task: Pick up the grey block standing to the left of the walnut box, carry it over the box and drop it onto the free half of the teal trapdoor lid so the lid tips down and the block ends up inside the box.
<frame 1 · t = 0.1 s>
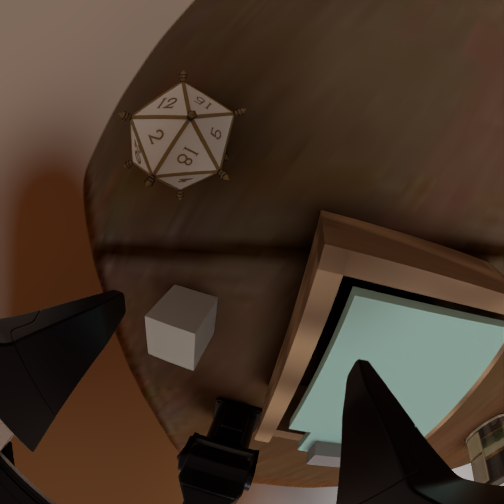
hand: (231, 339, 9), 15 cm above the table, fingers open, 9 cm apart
grey block: (194, 309, 28), on the table
game die: (202, 137, 21), on the table
box frame: (358, 371, 26), on the table
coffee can: (486, 428, 27), on the table
trapdoor: (390, 411, 16), point 9 cm above the table, hinge at 0.0°
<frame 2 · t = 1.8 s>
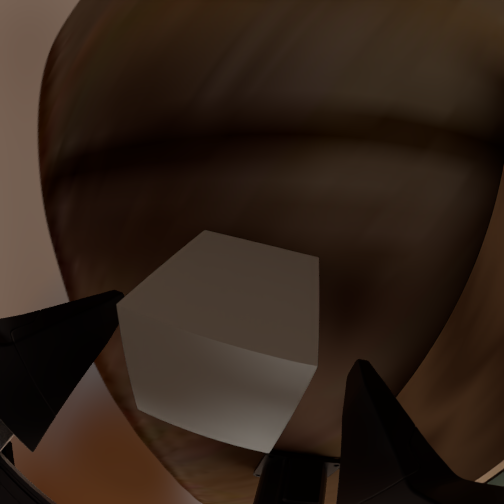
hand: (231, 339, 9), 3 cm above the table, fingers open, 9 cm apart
grey block: (250, 292, 12), on the table
box frame: (503, 380, 11), on the table
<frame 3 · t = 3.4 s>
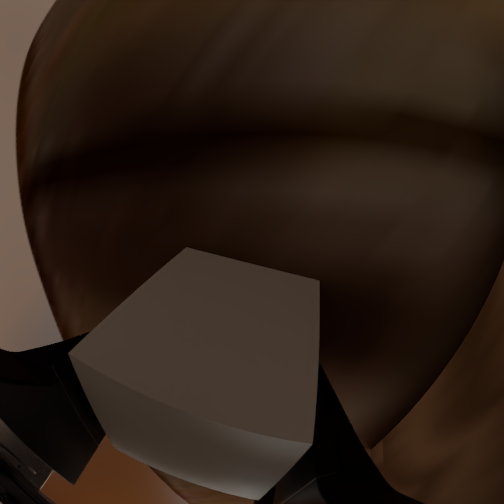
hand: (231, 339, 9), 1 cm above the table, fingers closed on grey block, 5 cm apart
grey block: (240, 318, 10), on the table, touching gripper
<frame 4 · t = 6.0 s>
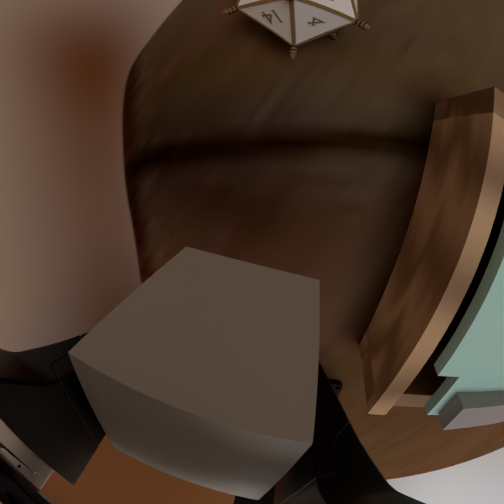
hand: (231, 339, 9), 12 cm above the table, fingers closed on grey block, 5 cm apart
grey block: (240, 318, 10), point 11 cm above the table, touching gripper
game die: (303, 19, 14), on the table
box frame: (461, 313, 19), on the table
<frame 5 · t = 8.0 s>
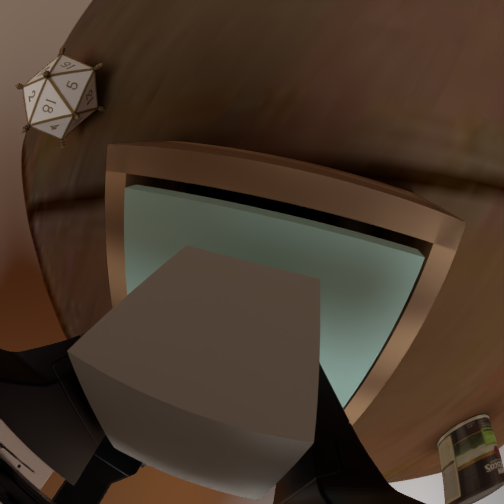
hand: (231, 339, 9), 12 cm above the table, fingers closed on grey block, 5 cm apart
grey block: (240, 317, 10), point 11 cm above the table, touching gripper
game die: (90, 98, 19), on the table
box frame: (254, 336, 25), on the table
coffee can: (463, 431, 25), on the table
trapdoor: (235, 373, 14), point 9 cm above the table, hinge at 0.0°
when the fingers open (12 cm above the table, at t = 8.6 s): grey block drops 7 cm, resting on box frame, trapdoor.
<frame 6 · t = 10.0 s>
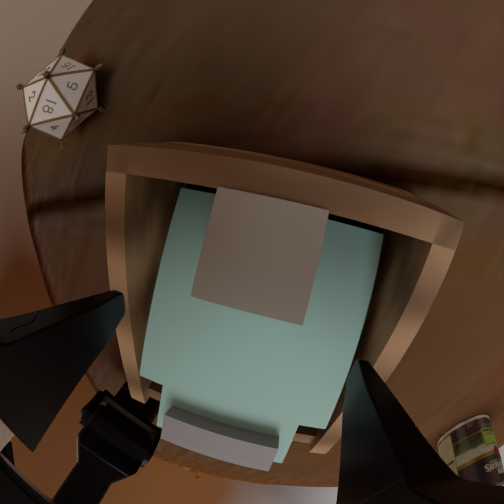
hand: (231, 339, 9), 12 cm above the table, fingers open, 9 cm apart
grey block: (268, 260, 17), point 4 cm above the table, tilted 26°, touching box frame, trapdoor
game die: (90, 98, 19), on the table
box frame: (254, 337, 25), on the table
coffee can: (462, 431, 25), on the table
trapdoor: (245, 346, 16), point 7 cm above the table, hinge at -27.0°, touching grey block
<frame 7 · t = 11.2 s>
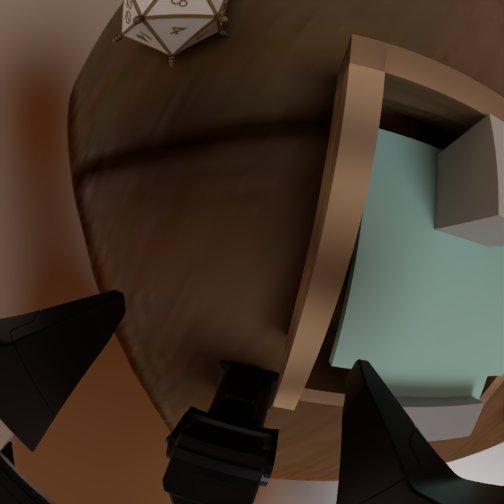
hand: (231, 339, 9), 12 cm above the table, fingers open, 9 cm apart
grey block: (465, 200, 13), point 4 cm above the table, tilted 24°, touching box frame, trapdoor
game die: (199, 24, 15), on the table
box frame: (403, 304, 20), on the table
trapdoor: (459, 294, 12), point 7 cm above the table, hinge at -29.6°, touching grey block
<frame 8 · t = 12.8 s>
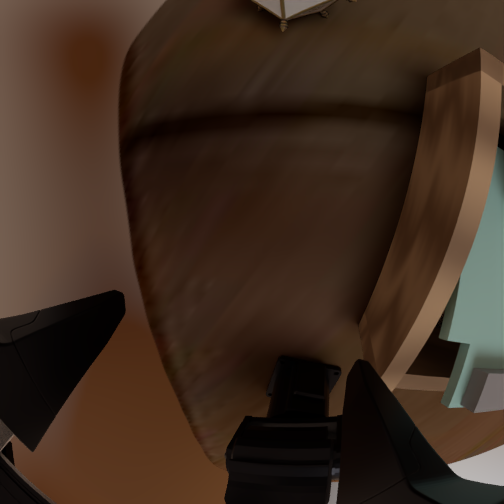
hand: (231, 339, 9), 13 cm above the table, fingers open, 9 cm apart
game die: (294, 0, 13), on the table
box frame: (464, 292, 18), on the table
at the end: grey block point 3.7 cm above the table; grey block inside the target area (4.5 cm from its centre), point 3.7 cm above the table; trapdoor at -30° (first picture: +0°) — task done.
